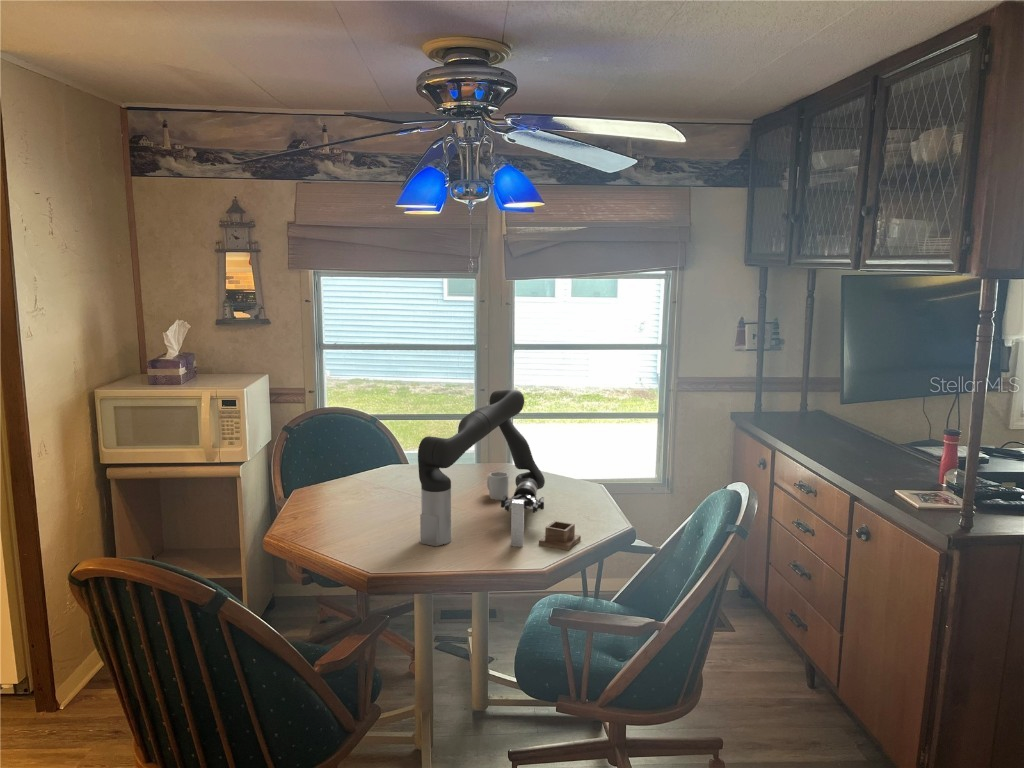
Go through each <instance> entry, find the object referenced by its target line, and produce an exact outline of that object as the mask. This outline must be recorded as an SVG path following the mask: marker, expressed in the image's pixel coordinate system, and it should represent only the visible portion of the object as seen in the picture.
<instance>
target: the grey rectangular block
mask: <svg viewBox="0 0 1024 768" xmlns="http://www.w3.org/2000/svg"><path fill="white" fill-rule="evenodd" d="M510 510H511V512H510V513H511V517H510V519H511V521H510V523H511V524H510V528H511V529H510V547H511V546H518V547H517V548H523V546H524V544H523V543H525V542H524V541H525V539H524V537H525V536H524V535H525V532H524V531H525V509H524V500H514V499H513V500H512V503H511V508H510Z"/></svg>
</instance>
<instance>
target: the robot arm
mask: <svg viewBox="0 0 1024 768" xmlns="http://www.w3.org/2000/svg"><path fill="white" fill-rule="evenodd" d="M524 406H525V397H524V394H523V393H522V392H521V391H520V390H518V389H516V388H515V389H514V388H509V389H500V390H499V389H498V390H494V391H493V392H491V394H490V397H489V404H488V405H485V406H483V407H480V408H477V409H474V410H473V411H471V412H469V413H468V414H466V415H465V416H464V417H463V418H462V419H460V421H459V423H458V426H457V433H455V434H454V435H453V436H451V437H448V438H443V437H436V436H431V435H430V436H428V435H427V436H425V437H423V438H422V440H420V443H419V444H418V450H417V464H418V478H419V482H420V485H421V488H420V489H421V492H420V493H421V514H420V515H419V517H420V519H419V520H420V526H419V527H420V529H419V531H420V544H422V545H428V546H433V547H439V546H444V545H447V544H450V543H451V541H452V481H451V478H450V477H449V476H448V475H446V474H444V473H443V471H442V470H441V469H448V468H450V467H451V466H452V465H454V464H455V463H456V462H457V461H458V460H459V459H461V457H462V456H463V455H464V454H465V453H466V452H467V451H468V450H469V449H470V448H472V447H473V446H474V445H475V444H477V443H479V441H481V440H482V439H484V438H485V437H487V436H488V435H489V434H490V433H491V432H493V431H494V430H495V429H496V428H498V427H499V429H500V431H501V433H502V435H503V437H504V439H505V441H506V443H507V446H508V447H509V450H510V454H511V457H512V461H513V464H514V466H515V468H516V469H517V470H525V471H526V470H527V471H526V472H523V473H522V472H521V473H519V474H518V475H516V477H515V482H514V483H515V486H516V488H515V491H514V494H513V495H512V496H511V497H509V496H508V497H507V496H506V495H504V496H503V498H502V499H501V500H500V508H502V509H503V508H504V510H505V511H506V512H507V513H509V512H510V510H511V503H512V500H513V499H514V500H524V510H527V509H530V510H532V513H536V512H538V510H539V509H540V510H544V509H545V496H544V497H543V496H540V497H539V498H537V497H538V490H541V489H543V488H544V487H545V483H546V481H545V479H546V478H545V477H544V475H543V473H542V472H541V470H540V468H539V467H538V465H537V464H536V462H535V460H534V458H533V454H532V450H531V447H530V445H529V443H528V441H527V439H526V438H525V436H523V434H522V433H520V431H519V430H518V429H517V428H516V426H515V425H514V424H513V423H512V421H511V419H512V418H513V417H515V416H517V415H519V414H520V413H521V412H522V410H524V409H523V408H524ZM443 544H444V545H443Z"/></svg>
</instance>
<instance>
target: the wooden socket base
mask: <svg viewBox="0 0 1024 768" xmlns="http://www.w3.org/2000/svg"><path fill="white" fill-rule="evenodd" d="M544 529H545V530H544V531H545V533H544V534H545V535H544V536H542V538H540V539H538V545H539V546H542V545H543V547H547V548H548V547H549V548H554V549H558V550H565V551H569V550H571V549H572V548H573V547H575V545H577V544H578V543H580V542H581V540H582V539H581V538H582V536H581V535H579V534H576V533H575V532H576V531H575V530H576V527H575V523H572V522H571V523H569V522H564V521H557V520H553V521H552V522H551V523H549V524H548V525H547V526H546V527H545V528H544Z"/></svg>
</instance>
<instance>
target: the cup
mask: <svg viewBox="0 0 1024 768" xmlns="http://www.w3.org/2000/svg"><path fill="white" fill-rule="evenodd" d="M509 476H510V475H509V473H508V472H504V471H494V472H490V473H489V475H488V477H487V479H486V487H487V490H488V495H489V499H491V500H493V499H495V500H494V501H501V499H502V498H503V496H504V495H506V496H507V497H508V498H509V478H510V477H509Z"/></svg>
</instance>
